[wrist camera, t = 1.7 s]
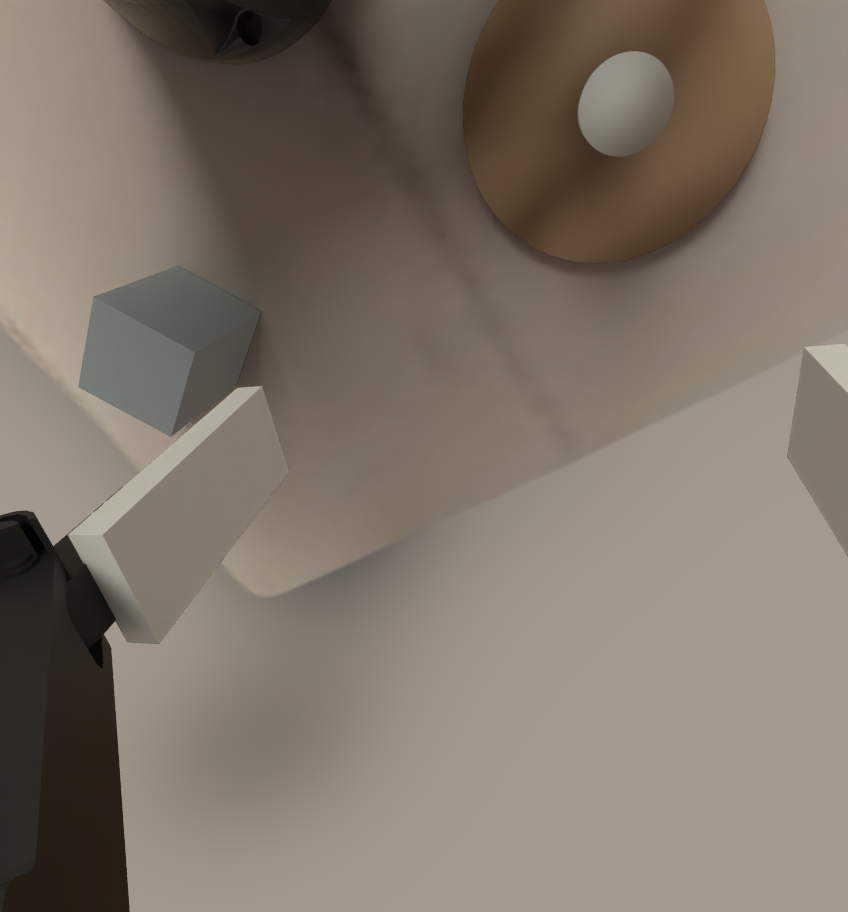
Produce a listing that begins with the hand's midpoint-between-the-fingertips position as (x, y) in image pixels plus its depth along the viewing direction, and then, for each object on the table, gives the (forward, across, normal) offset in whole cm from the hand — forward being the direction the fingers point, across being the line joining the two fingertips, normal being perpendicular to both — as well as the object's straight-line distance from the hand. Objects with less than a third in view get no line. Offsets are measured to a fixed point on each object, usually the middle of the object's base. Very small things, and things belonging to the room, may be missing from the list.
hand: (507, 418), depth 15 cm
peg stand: (+22, +4, +6) cm, 23 cm away
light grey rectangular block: (+22, -22, -3) cm, 31 cm away
